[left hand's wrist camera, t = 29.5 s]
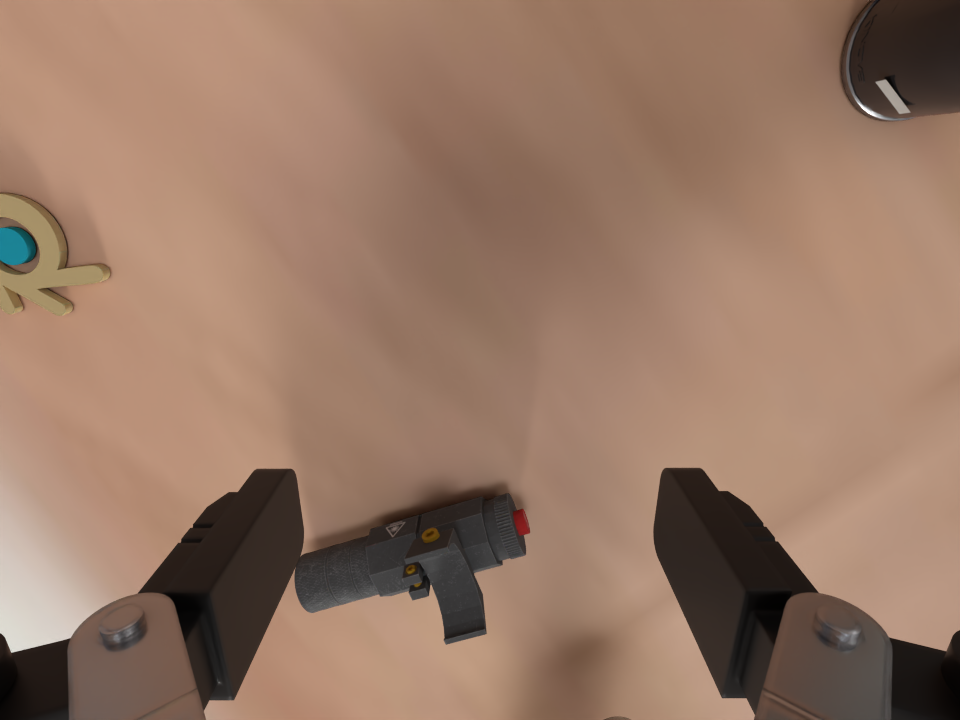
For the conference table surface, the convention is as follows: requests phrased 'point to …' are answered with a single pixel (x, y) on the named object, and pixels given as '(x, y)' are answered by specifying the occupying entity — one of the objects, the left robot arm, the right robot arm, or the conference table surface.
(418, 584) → the laser sight
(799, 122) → the conference table surface
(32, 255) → the logo
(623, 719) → the tin
